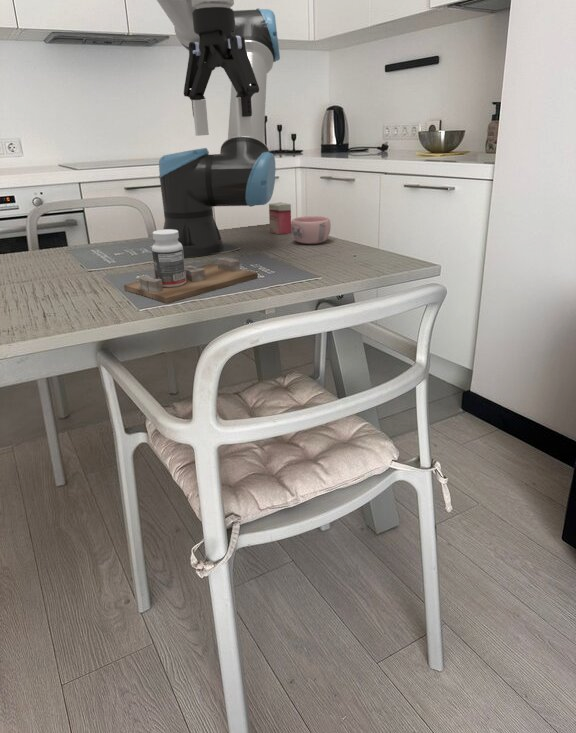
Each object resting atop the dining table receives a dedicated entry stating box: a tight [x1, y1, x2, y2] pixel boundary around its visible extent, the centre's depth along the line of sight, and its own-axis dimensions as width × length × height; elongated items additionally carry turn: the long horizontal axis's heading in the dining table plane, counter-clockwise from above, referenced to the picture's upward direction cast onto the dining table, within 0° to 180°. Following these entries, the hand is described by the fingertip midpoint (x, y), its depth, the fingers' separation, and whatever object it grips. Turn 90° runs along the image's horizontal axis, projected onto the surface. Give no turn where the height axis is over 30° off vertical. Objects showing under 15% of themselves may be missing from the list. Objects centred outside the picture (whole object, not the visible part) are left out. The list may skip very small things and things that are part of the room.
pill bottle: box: [151, 229, 186, 287], centre depth 108 cm, size 6×6×10 cm
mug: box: [291, 215, 332, 245], centre depth 146 cm, size 12×10×6 cm
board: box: [123, 257, 258, 304], centre depth 112 cm, size 14×22×3 cm, turn 136°
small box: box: [268, 202, 292, 235], centre depth 159 cm, size 5×4×8 cm
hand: (222, 136), depth 112 cm, fingers open, 13 cm apart
